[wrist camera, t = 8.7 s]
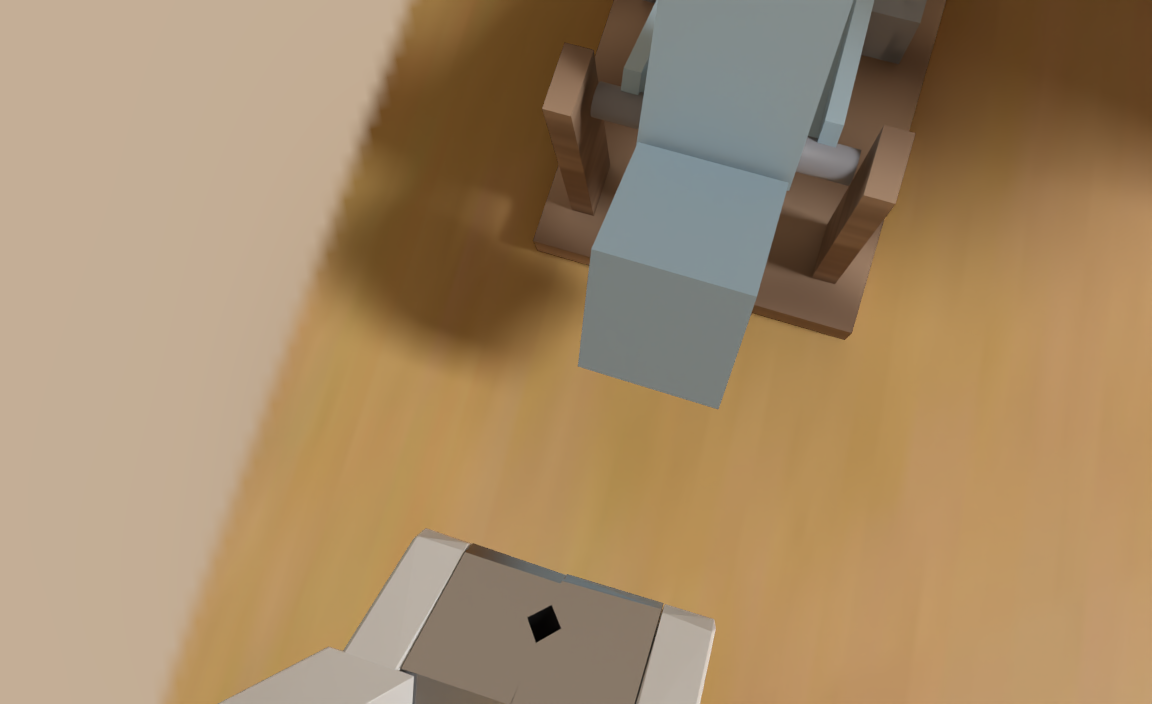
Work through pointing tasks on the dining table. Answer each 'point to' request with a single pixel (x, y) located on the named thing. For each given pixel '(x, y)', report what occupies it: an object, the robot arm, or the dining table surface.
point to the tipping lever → (711, 177)
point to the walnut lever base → (812, 205)
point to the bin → (890, 28)
